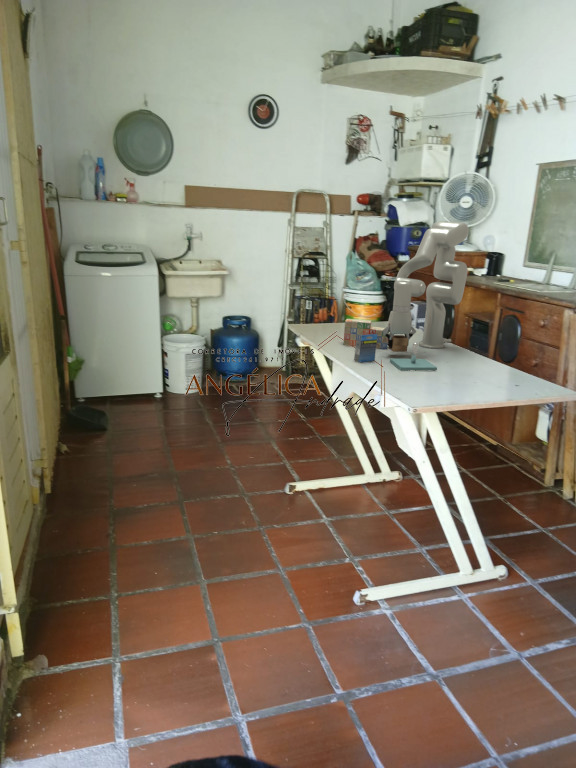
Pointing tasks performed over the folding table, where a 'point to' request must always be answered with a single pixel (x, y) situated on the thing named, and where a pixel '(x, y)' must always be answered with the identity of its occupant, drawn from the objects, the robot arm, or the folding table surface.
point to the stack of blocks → (363, 333)
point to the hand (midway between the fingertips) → (397, 347)
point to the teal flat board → (407, 365)
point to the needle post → (414, 353)
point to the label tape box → (366, 348)
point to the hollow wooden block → (399, 343)
